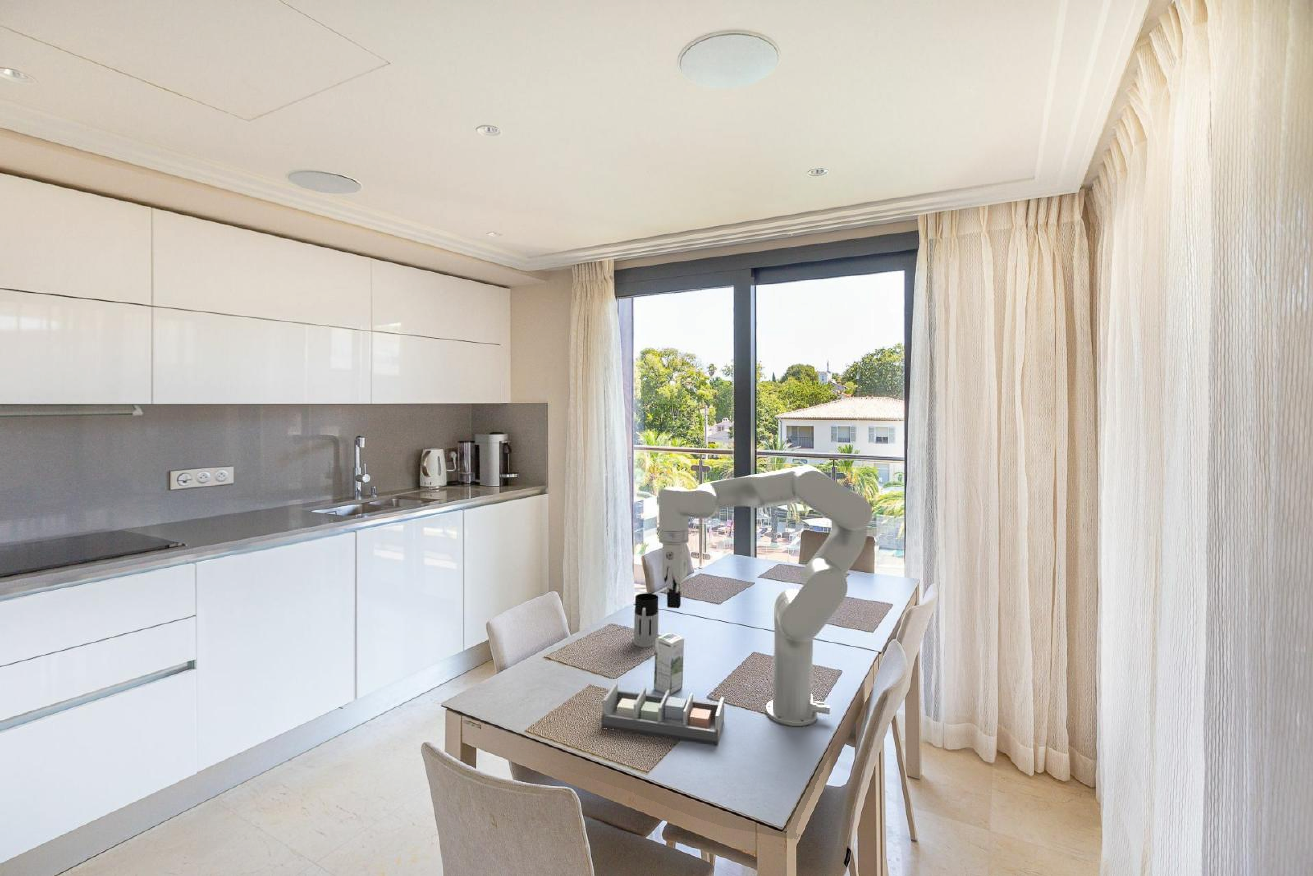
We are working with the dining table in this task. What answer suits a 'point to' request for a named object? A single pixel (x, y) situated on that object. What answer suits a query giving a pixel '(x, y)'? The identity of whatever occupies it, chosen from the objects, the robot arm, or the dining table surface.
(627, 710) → the cream block
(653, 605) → the glass holder
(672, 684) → the syrup box
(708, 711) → the light orange square block
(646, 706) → the key sage
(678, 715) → the pale blue block
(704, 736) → the slotted cube rack
